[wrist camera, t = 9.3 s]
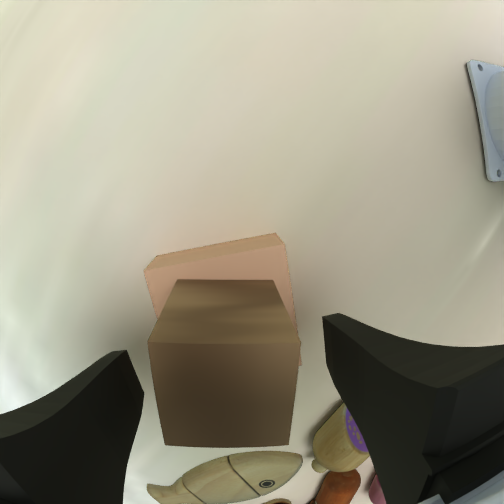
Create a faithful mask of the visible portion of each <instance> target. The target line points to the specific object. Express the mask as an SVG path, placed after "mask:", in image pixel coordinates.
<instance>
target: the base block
mask: <svg viewBox="0 0 504 504" xmlns="http://www.w3.org/2000/svg"><path fill="white" fill-rule="evenodd" d="M144 274H145V278H146V281H147V285H148V288H149V292H150V295H151V299H152V302H153V306H154V309H155V313H156V316H157V319H158V318H159V316H160V314H161V312H162V310H163V308H164V306H165V303H166V301H167V299H168V297H169V295H170V293H171V291H172V289H173V287H174V285H175V283H176V281H177V279H202V280H273V281H274V283H275V285H276V288H277V290H278V292H279V294H280V297H281V299H282V301H283V303H284V305H285V308H286V310H287V312H288V314H289V317H290V319H291V321H292V323H293V326H294V328H295V330H296V332H297V325H296V317H295V310H294V303H293V296H292V289H291V283H290V276H289V269H288V263H287V256H286V250H285V244H284V243H283V241H282V240H281V239H280V238H279V237H278V235H277V234H276V233H272V234H267V235H261V236H256V237H251V238H245V239H240V240H235V241H230V242H224V243H219V244H214V245H209V246H204V247H198V248H193V249H188V250H183V251H178V252H173V253H168V254H163V255H158V256H156V257H155V258H154V260H153V261H152V262H151V263H150V264H149V265H148V266H147V268H146V269H145V270H144ZM297 335H298V332H297ZM301 365H302V363H301V355H300V357H299V366H301Z"/></svg>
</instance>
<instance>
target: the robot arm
mask: <svg viewBox="0 0 504 504" xmlns="http://www.w3.org/2000/svg"><path fill="white" fill-rule="evenodd" d="M467 68H468V72H469V76H470V79H471V84H472V88H473V92H474V96H475V101H476V106H477V111H478V116H479V122H480V127H481V134H482V140H483V147H484V155H485V164H486V174H487V178H488V180H490V181H494V182H495V181H504V67H502V66H498V65H494V64H490V63H485V62H481V61H476V60H470V61H468V62H467ZM478 68H479V69H478ZM322 320H323V330H324V341H325V353H326V364H327V367H328V370H329V372H330V375H331V378H332V380H333V383H334V385H335V387H336V389H337V391H338V393H339V394H340V396H341V398H342V400H343V402H344V403H345V405H346V407H347V409H348V410H349V412H350V414H351V416H352V418H353V419H354V421H355V423H356V425H357V426H358V428H359V430H360V432H361V434H362V437H363V439H364V442H365V444H366V447H367V449H368V452H369V454H370V457H371V460H372V462H373V465H374V468H375V471H376V473H377V476H378V479H379V482H380V485H381V488H382V491H383V494H384V497H385V501H386V504H504V345H495V346H485V347H452V346H442V345H433V344H427V343H422V342H417V341H413V340H408V339H405V338H401V337H398V336H395V335H392V334H389V333H386V332H383V331H381V330H378V329H375V328H373V327H371V326H368V325H366V324H364V323H361V322H359V321H357V320H355V319H352V318H350V317H348V316H346V315H343V314H340V313H336V314H332V315H328V316H323V317H322ZM143 400H144V391H143V389H142V387H141V384H140V382H139V380H138V377H137V375H136V372H135V370H134V367H133V365H132V362H131V360H130V357H129V355H128V352H127V350H121V351H112V352H110V353H108V354H107V355H105V356H104V357H102V358H101V359H99V360H98V361H96V362H95V363H93V364H92V365H91V366H89V367H88V368H87V369H85V370H84V371H82V372H81V373H80V374H78V375H77V376H75V377H74V378H72V379H71V380H69V381H68V382H66V383H65V384H64V385H62V386H61V387H59V388H58V389H56V390H54V391H53V392H51V393H49V394H47V395H46V396H44V397H42V398H40V399H38V400H36V401H34V402H32V403H29V404H27V405H25V406H22V407H20V408H18V409H15V410H13V411H10V412H7V413H4V414H0V504H123V492H124V483H125V475H126V468H127V463H128V459H129V456H130V452H131V449H132V445H133V442H134V438H135V435H136V432H137V428H138V425H139V421H140V418H141V414H142V408H143Z"/></svg>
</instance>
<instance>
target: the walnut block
mask: <svg viewBox="0 0 504 504" xmlns="http://www.w3.org/2000/svg"><path fill="white" fill-rule="evenodd" d="M300 347H301V341H300V339H299V337H298V335H297V332H296V330H295V328H294V326H293V323H292V321H291V319H290V317H289V314H288V312H287V310H286V308H285V305H284V303H283V301H282V299H281V297H280V294H279V292H278V290H277V288H276V285H275V283H274V281H273V280H202V279H177V281H176V283H175V285H174V287H173V289H172V291H171V293H170V295H169V297H168V299H167V301H166V303H165V306H164V308H163V310H162V312H161V314H160V316H159V318H158V320H157V322H156V325H155V327H154V329H153V331H152V333H151V335H150V337H149V340H148V350H149V357H150V364H151V371H152V378H153V384H154V390H155V396H156V402H157V407H158V413H159V418H160V423H161V428H162V433H163V438H164V443H165V445H170V446H185V447H213V448H239V447H267V446H283V445H289V438H290V431H291V423H292V416H293V408H294V400H295V392H296V384H297V375H298V366H299V357H300Z"/></svg>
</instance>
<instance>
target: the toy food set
mask: <svg viewBox="0 0 504 504" xmlns="http://www.w3.org/2000/svg"><path fill="white" fill-rule="evenodd" d="M313 452H314V456H315V458H316V459H314V460H313V461H312V468H313V469H314V470H315V471H316V472H319V473H323V472H325V471H326V470H327V469H328V470H331V471H330V472H329V473H328V474H327V475H326V477H325V479H324V482H323V484H322V486H321V488H320V490H319V492H318V494H317V496H316V499H313V500H312V501H311V502H310V503H309V504H349V503H350V502H351V500H352V498H353V497H354V495H355V493H356V492H357V490H358V488H359V486H360V483H361V478H360V474H359V473H358V472H357V470H356V469H355V468H357V467H358V466H359V465H360V464H362V463H363V462H364V461H365V460H366V459H367V458H368V457H369V456H370V454H369V452H368V449H367V447H366V444H365V442H364V439H363V437H362V434H361V432H360V430H359V428H358V426H357V425H356V423H355V421H354V419H353V418H352V416H351V414H350V412H349V410H348V409H347V407H346V405H345V403H343V404H342V405H341V406H340V407H339V408H338V409H337V410H336V412H335V413H334V414H333V415H332V416H331V417H330V418H329V419H328V420H327V421H326V422H325V424H324V425H323V426H322V427H321V428H320V429H319V430H318V431H317V433H316V434H315V437H314V440H313ZM302 463H303V459H302V456H301V455H300V454H297V453H291V452H281V451H255V452H245V453H237V454H232V455H229V456H224V457H220V458H217V459H214V460H211V461H208V462H206V463H203V464H201V465H199V466H197V467H195V468H193V469H191V470H189V471H188V472H186V473H185V474H184V475H183V477H180V478H179V479H178V480H177V481H176V482H175V483H174V484H173V485H171V486H159V485H153V484H147V491H148V493H149V494H150V495H151V496H152V497H153V498H154V499H155V500H157V501H158V502H159V503H160V504H227V503H234V502H241V501H246V500H250V499H254V498H258V497H260V496H261V495H262V496H263V495H266V494H268V493H271V492H273V491H274V490H276V489H278V488H280V487H281V486H283V485H284V484H286V483H287V482H288V481H289V480H290V479H291V478H292V477H293V476H294V475H295V474H296V473H297V472H298V470H299V469H300V468H301V466H302ZM369 497H370V500H371V501H372V503H373V504H386V501H385V497H384V494H383V491H382V488H381V485H380V482H379V479H378V476H377V473H376V475H375V477H374V480H373V482H372V484H371V486H370V488H369ZM263 504H291V501H289V500H287V499H282V498H279V499H273V500H271V501H268V502H266V503H263Z"/></svg>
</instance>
